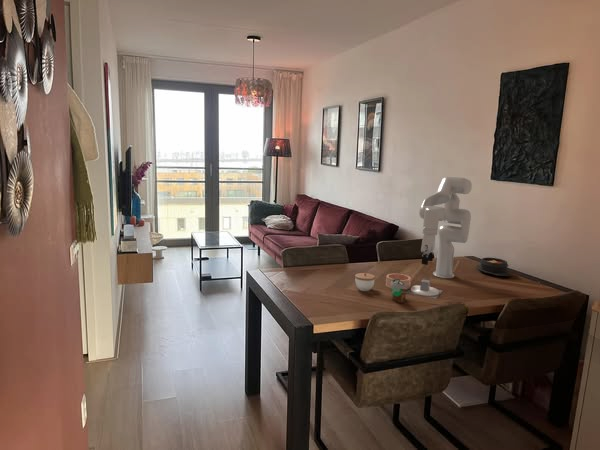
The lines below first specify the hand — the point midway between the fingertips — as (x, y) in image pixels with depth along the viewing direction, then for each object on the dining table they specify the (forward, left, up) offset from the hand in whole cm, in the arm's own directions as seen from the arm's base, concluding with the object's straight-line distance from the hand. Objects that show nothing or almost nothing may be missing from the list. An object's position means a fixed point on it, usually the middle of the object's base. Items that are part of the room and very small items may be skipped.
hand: (427, 262), depth 233 cm
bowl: (0, -15, -17) cm, 23 cm away
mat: (0, 0, -17) cm, 17 cm away
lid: (0, 0, -16) cm, 16 cm away
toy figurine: (+21, -9, -17) cm, 28 cm away
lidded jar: (+15, -29, -17) cm, 37 cm away
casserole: (-67, +26, -17) cm, 74 cm away
